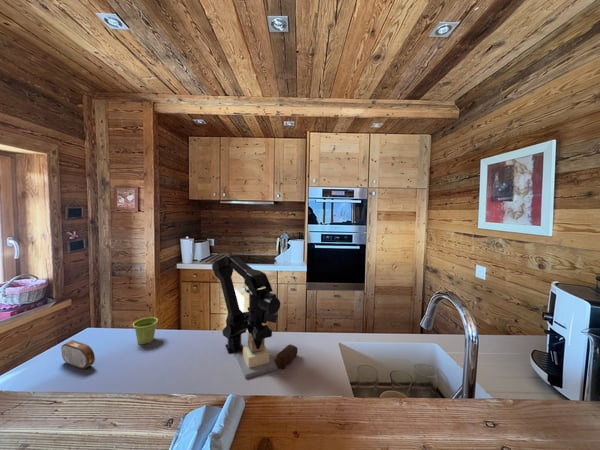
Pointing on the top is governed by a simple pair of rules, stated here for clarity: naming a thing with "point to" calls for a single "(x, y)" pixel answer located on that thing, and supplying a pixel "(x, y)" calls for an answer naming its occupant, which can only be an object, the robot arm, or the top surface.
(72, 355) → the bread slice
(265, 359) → the foundation
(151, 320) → the plant pot
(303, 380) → the top surface
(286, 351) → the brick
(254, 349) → the tan cube
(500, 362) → the top surface
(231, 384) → the top surface
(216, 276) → the robot arm
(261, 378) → the top surface
